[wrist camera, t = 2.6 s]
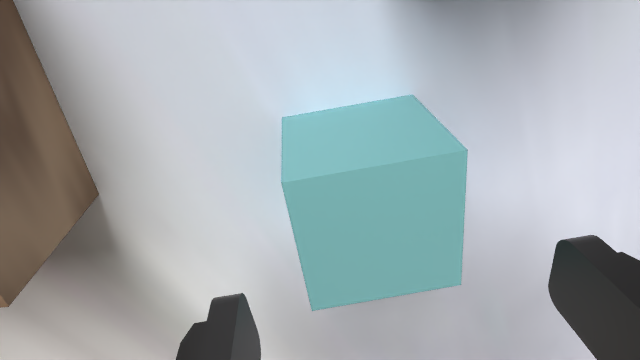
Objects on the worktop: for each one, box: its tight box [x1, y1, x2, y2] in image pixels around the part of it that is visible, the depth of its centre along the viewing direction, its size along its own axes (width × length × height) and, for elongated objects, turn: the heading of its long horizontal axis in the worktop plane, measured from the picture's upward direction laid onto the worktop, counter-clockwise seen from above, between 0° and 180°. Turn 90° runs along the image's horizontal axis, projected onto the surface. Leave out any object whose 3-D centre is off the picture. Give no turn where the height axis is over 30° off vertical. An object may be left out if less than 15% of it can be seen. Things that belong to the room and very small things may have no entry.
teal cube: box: [281, 95, 468, 311], centre depth 13 cm, size 5×5×5 cm
